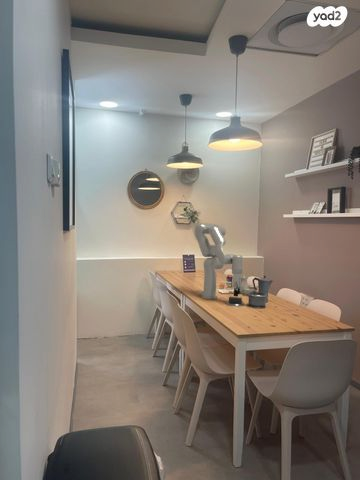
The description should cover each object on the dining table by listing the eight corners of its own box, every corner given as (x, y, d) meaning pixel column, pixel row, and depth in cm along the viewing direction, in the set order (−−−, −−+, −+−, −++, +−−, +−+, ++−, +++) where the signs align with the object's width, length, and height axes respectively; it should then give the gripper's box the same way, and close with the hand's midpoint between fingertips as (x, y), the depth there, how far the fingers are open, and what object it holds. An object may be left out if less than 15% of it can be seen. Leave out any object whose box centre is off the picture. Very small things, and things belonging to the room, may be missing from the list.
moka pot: (272, 303, 260) (273, 277, 259) (251, 301, 263) (252, 275, 262) (271, 300, 269) (272, 275, 268) (251, 299, 272) (252, 274, 271)
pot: (247, 307, 245) (247, 294, 244) (248, 303, 257) (249, 291, 256) (265, 309, 241) (265, 296, 241) (266, 305, 253) (266, 293, 253)
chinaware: (253, 299, 280) (257, 279, 279) (233, 295, 285) (236, 275, 284) (257, 293, 307) (260, 275, 305) (239, 289, 312) (241, 271, 310)
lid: (225, 305, 249) (225, 298, 249) (227, 301, 261) (227, 295, 261) (243, 307, 245) (243, 300, 245) (245, 303, 258) (245, 296, 257)
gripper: (233, 270, 261) (233, 292, 262) (230, 272, 245) (229, 296, 245) (243, 270, 259) (243, 293, 260) (240, 273, 243) (240, 297, 243)
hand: (236, 295), depth 252 cm, fingers open, 9 cm apart
